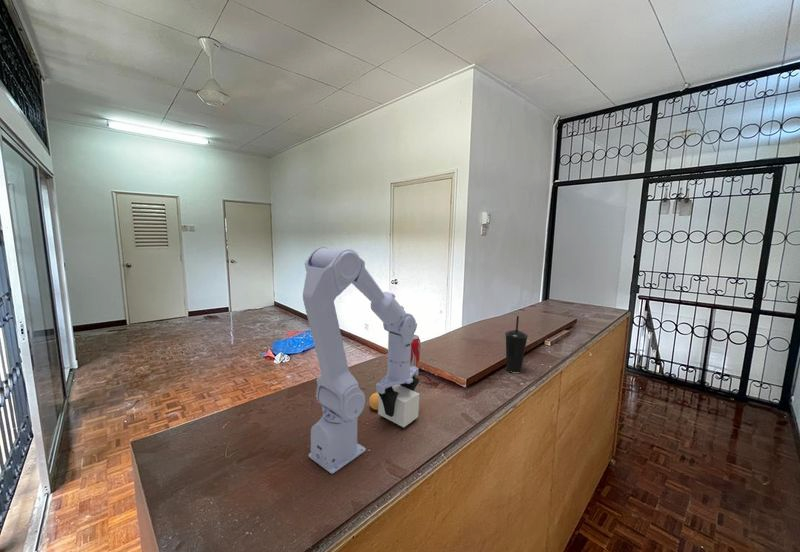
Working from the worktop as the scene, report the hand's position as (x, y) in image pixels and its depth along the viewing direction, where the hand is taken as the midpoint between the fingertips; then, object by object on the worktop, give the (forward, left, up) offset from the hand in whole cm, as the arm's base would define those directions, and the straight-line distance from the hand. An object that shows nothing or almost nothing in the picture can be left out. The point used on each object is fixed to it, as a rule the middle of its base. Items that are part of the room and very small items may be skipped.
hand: (397, 409), depth 82 cm
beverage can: (+27, +16, -3) cm, 32 cm away
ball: (0, +7, 0) cm, 7 cm away
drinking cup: (+51, -12, -3) cm, 52 cm away
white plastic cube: (0, 0, -2) cm, 2 cm away
